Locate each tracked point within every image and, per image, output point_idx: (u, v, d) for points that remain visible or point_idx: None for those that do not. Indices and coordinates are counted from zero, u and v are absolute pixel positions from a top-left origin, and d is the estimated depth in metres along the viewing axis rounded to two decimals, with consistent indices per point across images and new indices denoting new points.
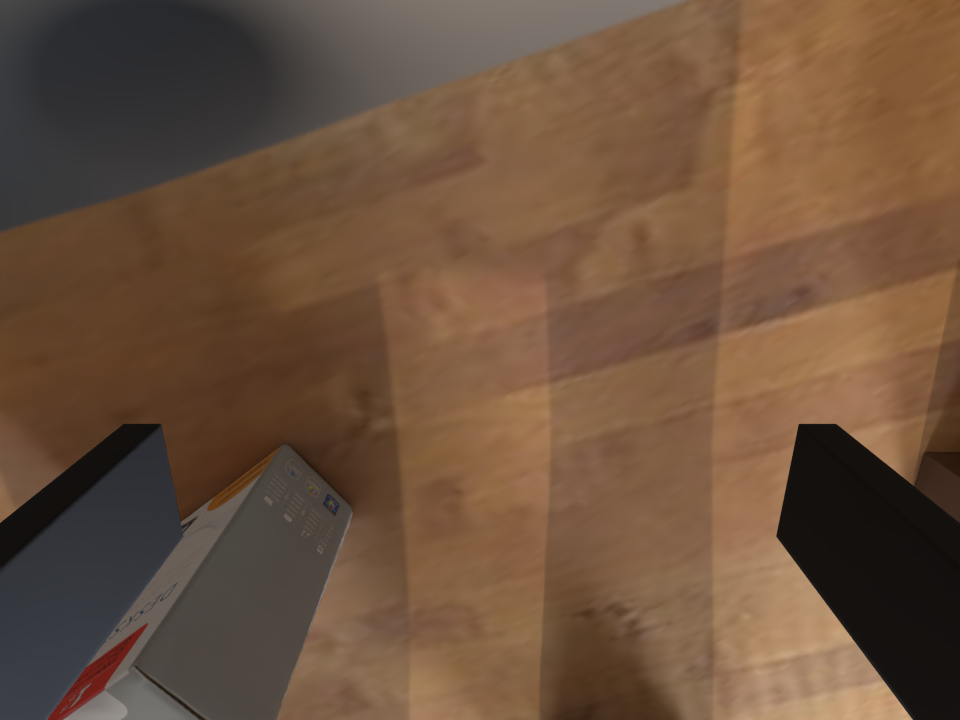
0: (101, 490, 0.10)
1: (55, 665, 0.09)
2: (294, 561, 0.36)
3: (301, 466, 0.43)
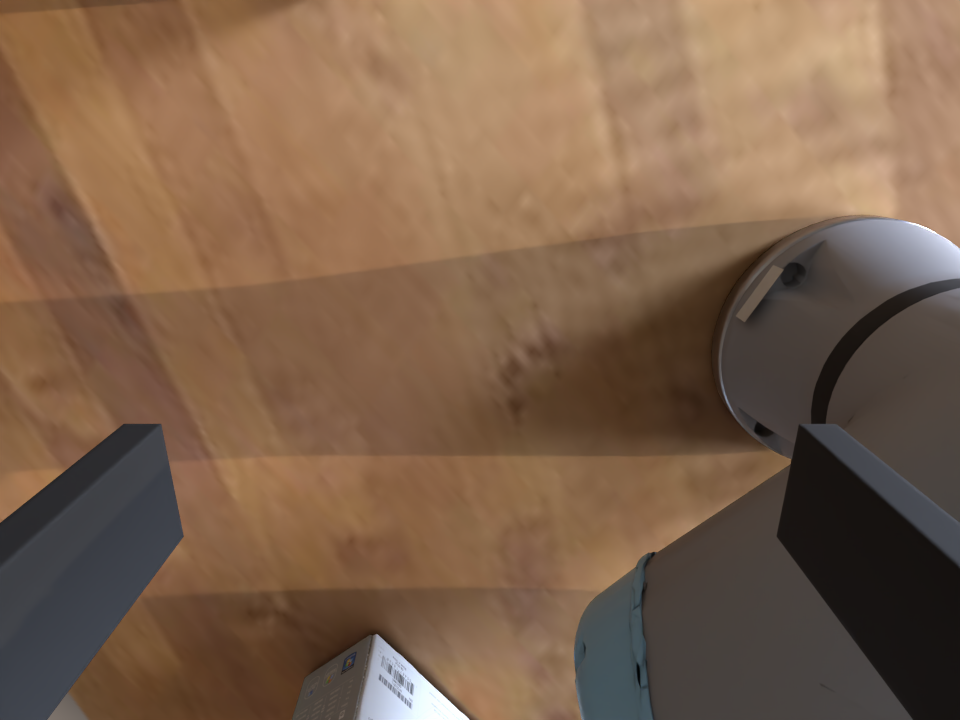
0: (101, 490, 0.10)
1: (55, 665, 0.09)
2: None
3: (318, 675, 0.45)
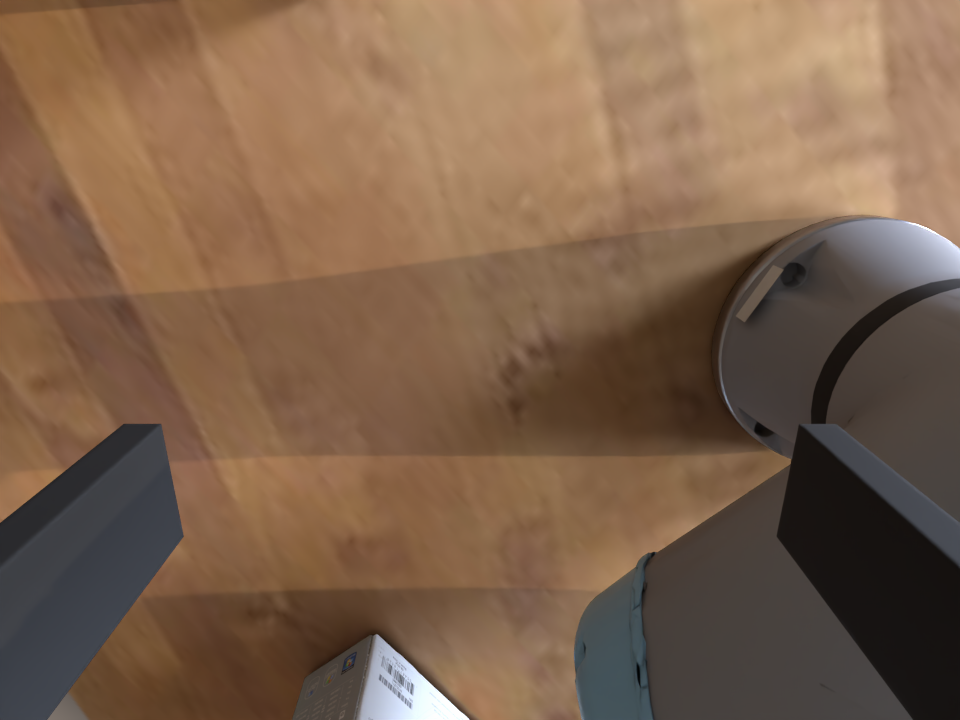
0: (101, 490, 0.10)
1: (55, 665, 0.09)
2: None
3: (318, 675, 0.45)
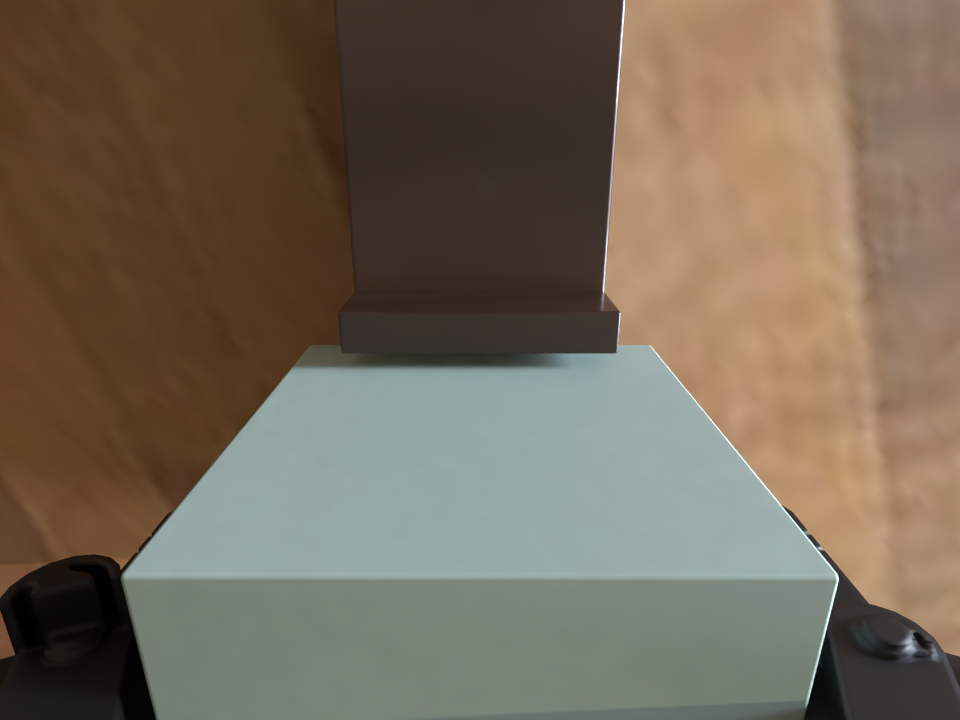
0: None
1: None
2: None
3: None
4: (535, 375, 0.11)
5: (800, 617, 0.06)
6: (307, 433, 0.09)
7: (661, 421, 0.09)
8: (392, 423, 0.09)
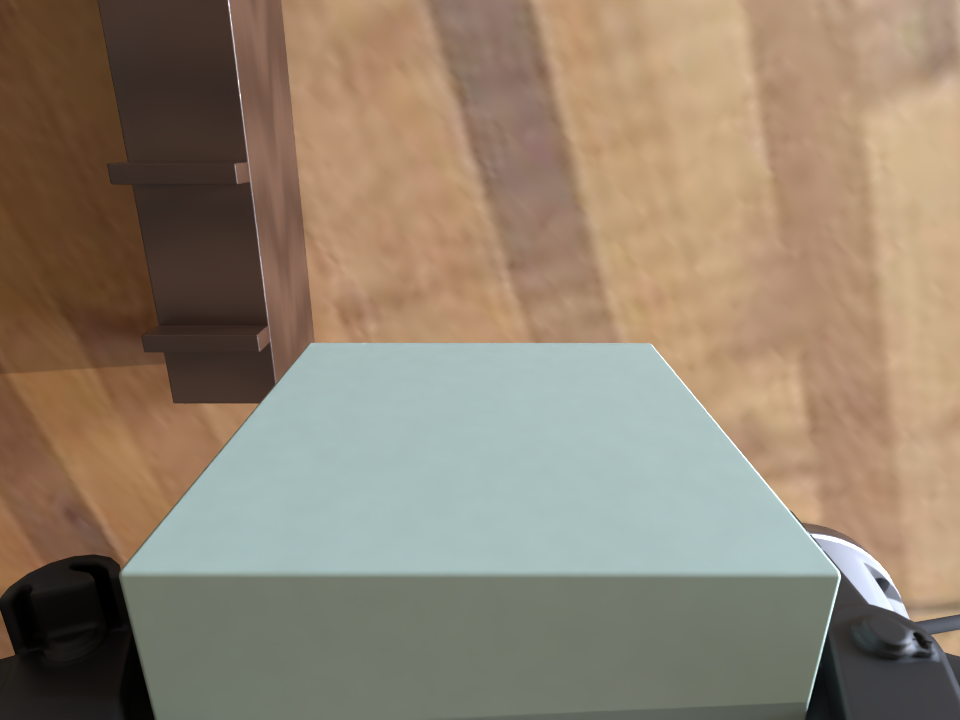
0: None
1: None
2: None
3: None
4: (535, 373, 0.11)
5: (802, 614, 0.06)
6: (306, 431, 0.09)
7: (663, 420, 0.09)
8: (391, 421, 0.09)
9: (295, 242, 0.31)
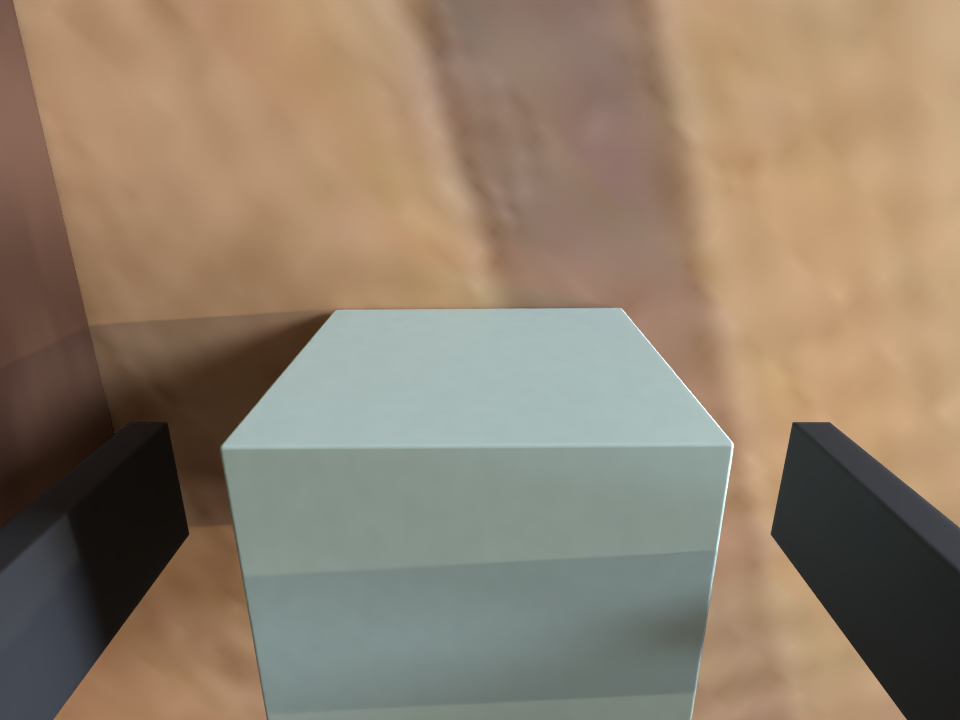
0: (109, 487, 0.10)
1: (64, 661, 0.09)
2: None
3: None
4: (523, 329, 0.13)
5: (707, 476, 0.08)
6: (341, 367, 0.11)
7: (622, 358, 0.11)
8: (407, 361, 0.11)
9: (47, 376, 0.13)
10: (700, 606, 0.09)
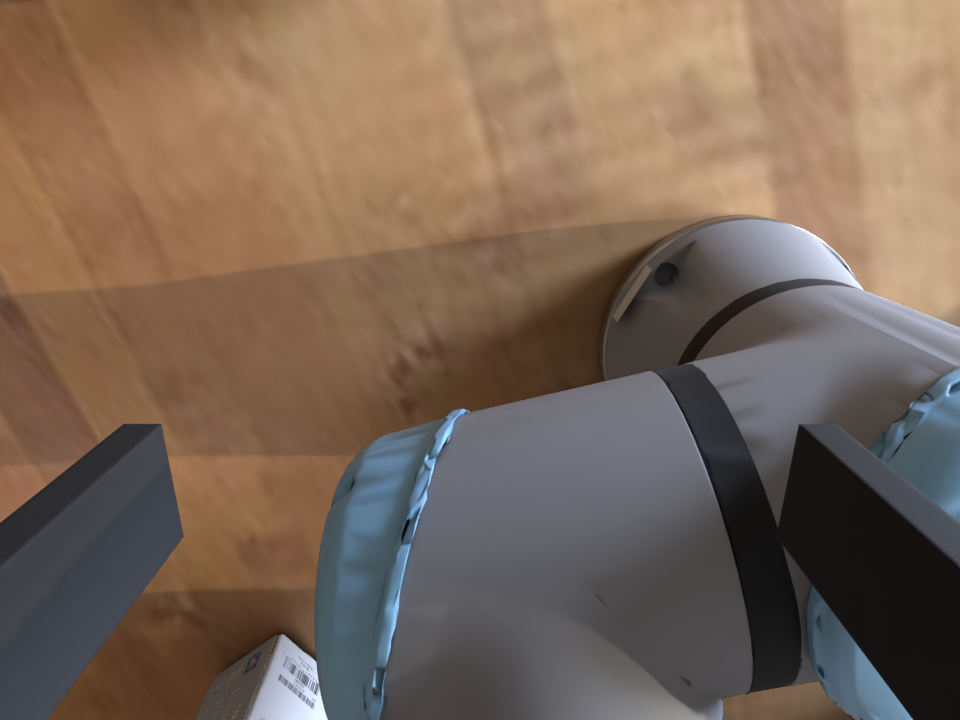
0: (101, 489, 0.10)
1: (55, 665, 0.09)
2: None
3: (224, 675, 0.45)
4: None
5: None
6: None
7: None
8: None
9: None
10: None
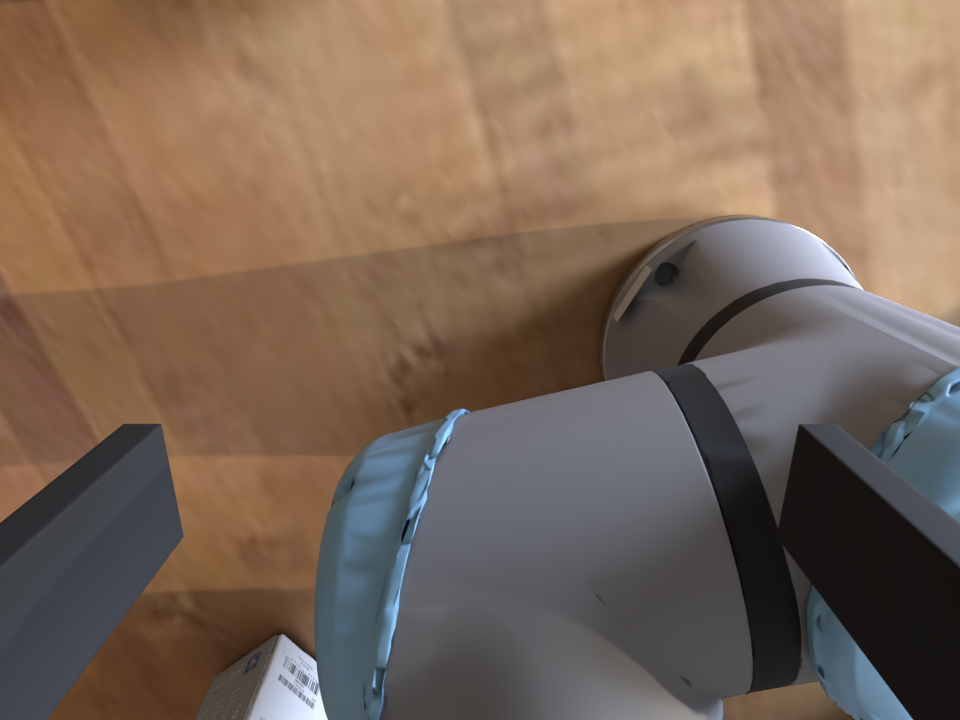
0: (101, 489, 0.10)
1: (55, 665, 0.09)
2: None
3: (224, 675, 0.45)
4: None
5: None
6: None
7: None
8: None
9: None
10: None
